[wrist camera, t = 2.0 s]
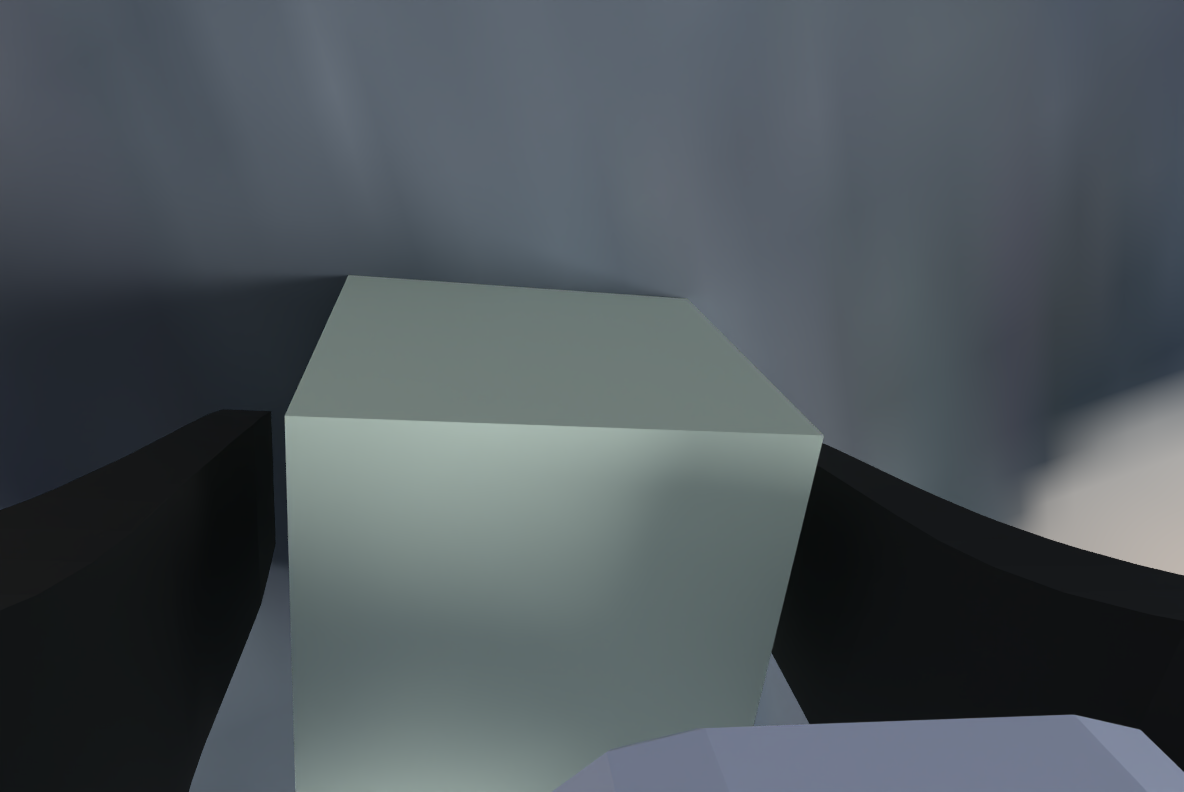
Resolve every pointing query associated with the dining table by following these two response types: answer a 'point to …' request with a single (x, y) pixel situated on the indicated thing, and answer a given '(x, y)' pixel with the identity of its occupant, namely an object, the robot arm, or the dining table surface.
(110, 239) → the dining table surface
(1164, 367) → the dining table surface
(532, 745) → the cube
